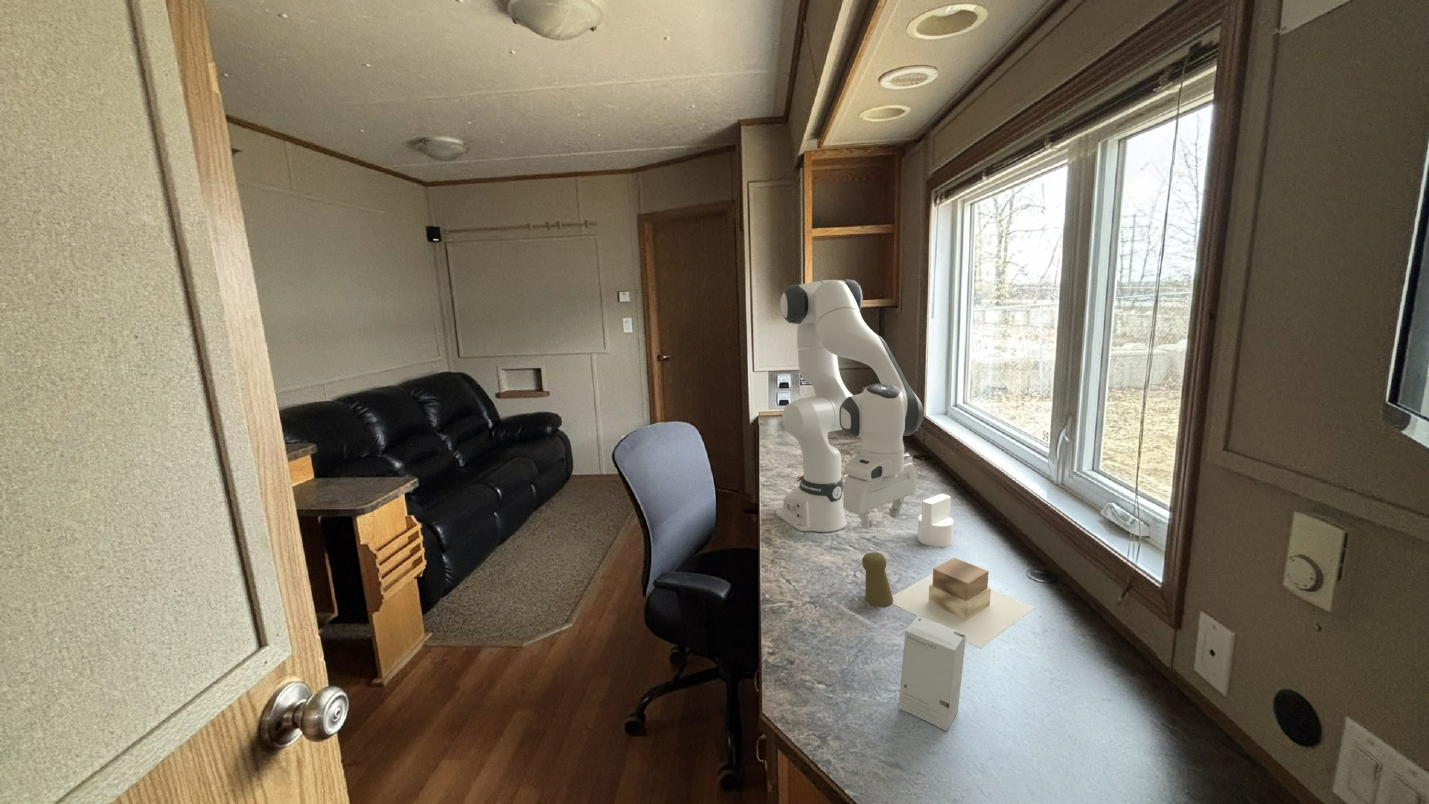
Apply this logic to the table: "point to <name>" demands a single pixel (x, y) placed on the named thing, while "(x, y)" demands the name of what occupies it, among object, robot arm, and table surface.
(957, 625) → the felt mat
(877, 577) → the olive rounded upright piece
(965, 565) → the top block
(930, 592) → the bottom block
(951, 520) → the cylinder with rectangular tab
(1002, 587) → the table surface
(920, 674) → the skincare box
